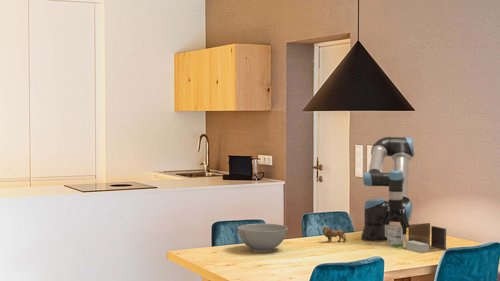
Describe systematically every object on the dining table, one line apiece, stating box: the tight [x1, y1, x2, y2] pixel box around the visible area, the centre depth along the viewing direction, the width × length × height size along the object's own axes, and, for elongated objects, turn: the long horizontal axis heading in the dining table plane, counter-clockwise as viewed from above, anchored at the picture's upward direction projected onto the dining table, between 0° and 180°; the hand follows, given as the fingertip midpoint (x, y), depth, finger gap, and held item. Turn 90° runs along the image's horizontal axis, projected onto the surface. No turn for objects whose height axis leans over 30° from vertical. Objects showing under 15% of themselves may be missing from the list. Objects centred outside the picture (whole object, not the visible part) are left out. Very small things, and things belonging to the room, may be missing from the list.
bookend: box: [430, 225, 448, 251], centre depth 386 cm, size 10×2×11 cm, turn 28°
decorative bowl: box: [236, 223, 289, 253], centre depth 385 cm, size 27×27×12 cm
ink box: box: [386, 224, 404, 249], centre depth 392 cm, size 9×5×12 cm, turn 25°
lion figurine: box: [321, 226, 348, 244], centre depth 409 cm, size 15×5×9 cm, turn 103°
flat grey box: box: [404, 240, 430, 254], centre depth 379 cm, size 12×6×4 cm, turn 28°
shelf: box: [402, 222, 445, 254], centre depth 383 cm, size 16×19×13 cm
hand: (395, 238), depth 392 cm, fingers open, 13 cm apart
